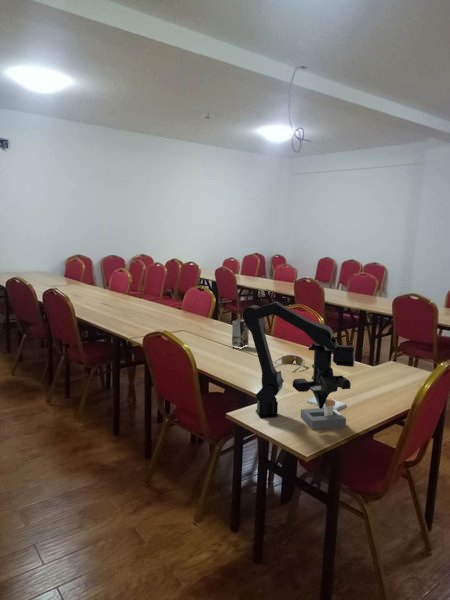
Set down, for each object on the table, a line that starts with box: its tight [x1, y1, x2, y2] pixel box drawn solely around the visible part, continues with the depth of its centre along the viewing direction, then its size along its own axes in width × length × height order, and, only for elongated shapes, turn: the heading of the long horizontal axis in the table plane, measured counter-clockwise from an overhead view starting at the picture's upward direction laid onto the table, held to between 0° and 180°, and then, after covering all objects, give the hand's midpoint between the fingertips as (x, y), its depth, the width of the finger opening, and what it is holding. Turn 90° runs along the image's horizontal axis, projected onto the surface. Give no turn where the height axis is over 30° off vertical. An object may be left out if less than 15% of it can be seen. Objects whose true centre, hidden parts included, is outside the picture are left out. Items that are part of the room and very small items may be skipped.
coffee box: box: [231, 318, 250, 347], centre depth 252 cm, size 9×6×16 cm
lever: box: [324, 397, 336, 416], centre depth 148 cm, size 3×3×6 cm
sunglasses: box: [273, 353, 306, 373], centre depth 214 cm, size 14×15×5 cm
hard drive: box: [306, 396, 347, 411], centre depth 165 cm, size 2×8×12 cm
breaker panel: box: [300, 407, 347, 431], centre depth 148 cm, size 12×10×3 cm
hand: (320, 408), depth 148 cm, fingers closed
